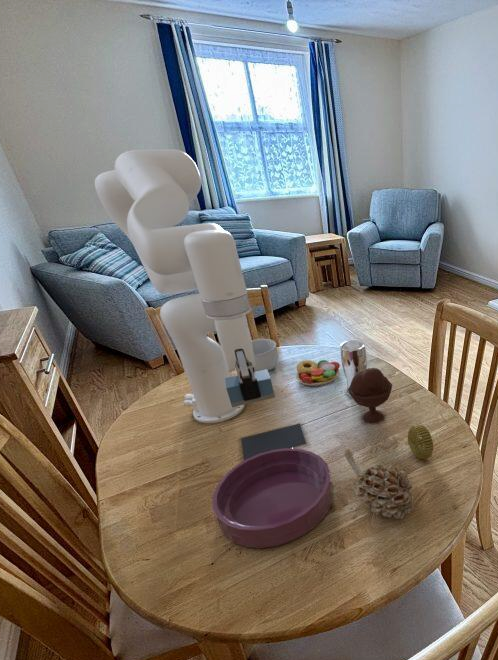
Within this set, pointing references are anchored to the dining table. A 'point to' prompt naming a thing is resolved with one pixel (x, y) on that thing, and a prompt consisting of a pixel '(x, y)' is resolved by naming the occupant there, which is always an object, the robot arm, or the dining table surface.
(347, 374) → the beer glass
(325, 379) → the toy food set
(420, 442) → the sculpture
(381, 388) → the ice cream bowl
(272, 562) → the dining table surface
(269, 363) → the teacup
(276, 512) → the serving bowl
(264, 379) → the block
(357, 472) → the pine cone
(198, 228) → the robot arm
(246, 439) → the rubber mat
